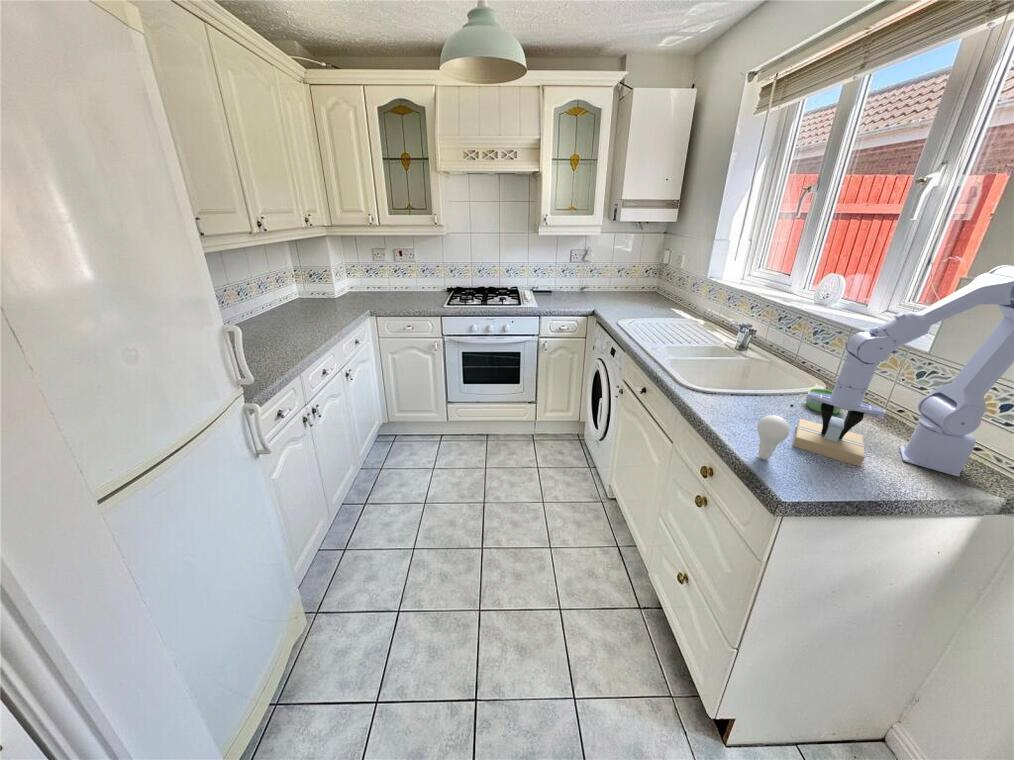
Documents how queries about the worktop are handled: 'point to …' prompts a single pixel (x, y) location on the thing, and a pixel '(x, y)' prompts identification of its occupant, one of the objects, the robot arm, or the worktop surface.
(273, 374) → the worktop surface
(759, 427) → the lightbulb
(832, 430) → the tab
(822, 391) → the ramekin
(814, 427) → the carton
